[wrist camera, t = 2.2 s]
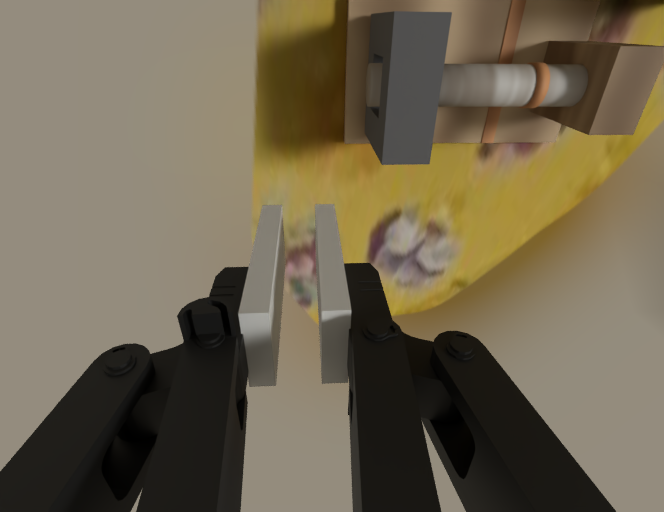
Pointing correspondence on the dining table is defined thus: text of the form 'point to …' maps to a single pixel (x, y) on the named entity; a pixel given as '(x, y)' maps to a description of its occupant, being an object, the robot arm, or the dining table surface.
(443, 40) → the dark grey flat block
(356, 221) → the dining table surface
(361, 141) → the pipe rig
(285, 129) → the dining table surface
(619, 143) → the dining table surface
